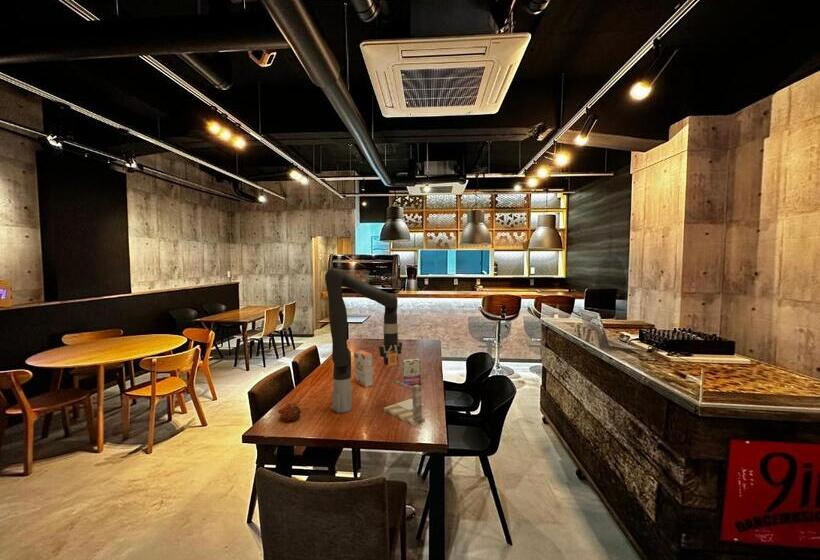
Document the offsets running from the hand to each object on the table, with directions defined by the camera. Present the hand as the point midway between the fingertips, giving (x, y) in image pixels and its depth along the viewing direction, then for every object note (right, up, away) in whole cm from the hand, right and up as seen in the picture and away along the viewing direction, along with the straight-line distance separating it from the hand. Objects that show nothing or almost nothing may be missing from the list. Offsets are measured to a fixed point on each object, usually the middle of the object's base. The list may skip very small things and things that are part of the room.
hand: (390, 363), depth 181 cm
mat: (+10, -24, +7) cm, 27 cm away
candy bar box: (+11, -23, +39) cm, 47 cm away
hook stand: (+7, -25, -7) cm, 27 cm away
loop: (0, -1, 0) cm, 1 cm away
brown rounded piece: (-50, -26, -9) cm, 57 cm away
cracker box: (-20, -24, +42) cm, 52 cm away
